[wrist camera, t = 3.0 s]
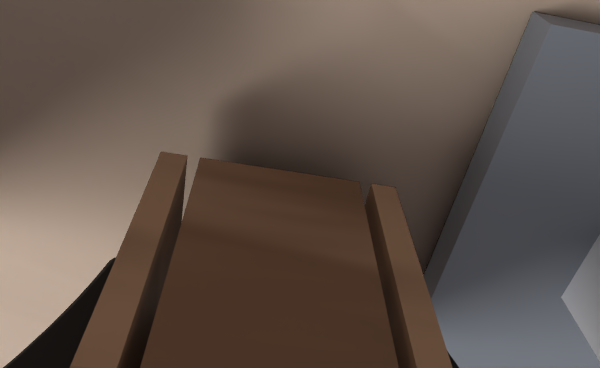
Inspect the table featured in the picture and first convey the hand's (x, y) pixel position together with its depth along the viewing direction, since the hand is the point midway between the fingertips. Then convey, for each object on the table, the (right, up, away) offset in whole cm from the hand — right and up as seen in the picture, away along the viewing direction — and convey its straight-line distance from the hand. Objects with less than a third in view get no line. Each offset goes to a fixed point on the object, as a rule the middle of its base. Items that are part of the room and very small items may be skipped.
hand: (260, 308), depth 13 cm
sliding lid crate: (0, +1, +1) cm, 2 cm away
